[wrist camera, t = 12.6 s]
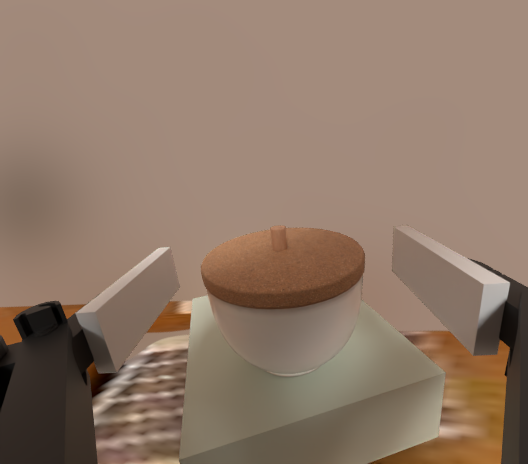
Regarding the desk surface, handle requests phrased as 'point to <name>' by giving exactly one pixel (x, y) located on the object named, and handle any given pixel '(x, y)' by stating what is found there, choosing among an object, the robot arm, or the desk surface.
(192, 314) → the sage box
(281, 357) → the lidded jar
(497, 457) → the desk surface
